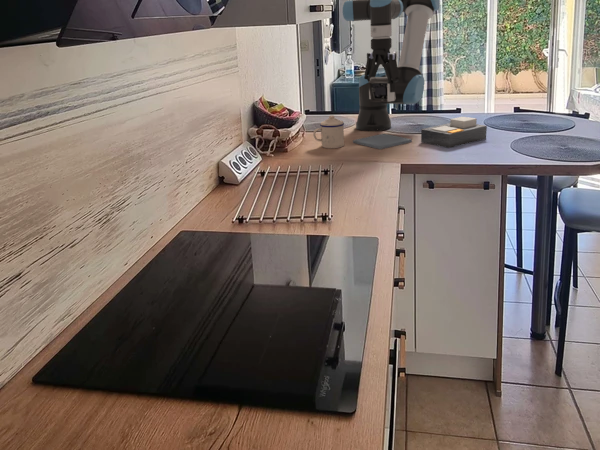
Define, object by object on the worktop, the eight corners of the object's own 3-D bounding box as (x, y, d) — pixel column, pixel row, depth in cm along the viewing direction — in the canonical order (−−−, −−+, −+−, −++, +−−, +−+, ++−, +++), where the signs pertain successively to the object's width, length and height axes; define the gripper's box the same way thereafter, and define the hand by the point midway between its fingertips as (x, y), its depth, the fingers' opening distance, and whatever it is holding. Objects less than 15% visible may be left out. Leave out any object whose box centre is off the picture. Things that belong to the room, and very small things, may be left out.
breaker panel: (421, 142, 220) (421, 128, 218) (457, 133, 230) (458, 120, 228) (448, 148, 208) (449, 133, 207) (486, 138, 218) (486, 124, 217)
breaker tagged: (431, 136, 217) (431, 128, 216) (444, 133, 220) (444, 125, 219) (444, 138, 211) (445, 131, 210) (457, 135, 215) (458, 128, 214)
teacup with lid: (341, 142, 227) (340, 112, 223) (347, 147, 219) (346, 116, 215) (311, 145, 226) (310, 115, 221) (316, 150, 217) (315, 119, 213)
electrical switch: (396, 100, 217) (395, 76, 213) (390, 104, 213) (389, 79, 209) (373, 100, 222) (372, 76, 218) (367, 103, 218) (365, 79, 214)
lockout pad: (352, 142, 226) (352, 140, 225) (384, 136, 234) (383, 133, 233) (379, 149, 213) (379, 146, 213) (411, 141, 221) (411, 139, 221)
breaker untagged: (450, 126, 221) (450, 119, 220) (462, 123, 224) (462, 116, 223) (463, 128, 215) (464, 121, 214) (476, 125, 219) (476, 118, 218)
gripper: (353, 38, 217) (355, 98, 224) (394, 38, 199) (394, 104, 207) (369, 36, 220) (370, 95, 228) (410, 37, 203) (409, 101, 211)
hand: (381, 99), depth 217 cm, fingers closed on electrical switch, 10 cm apart
